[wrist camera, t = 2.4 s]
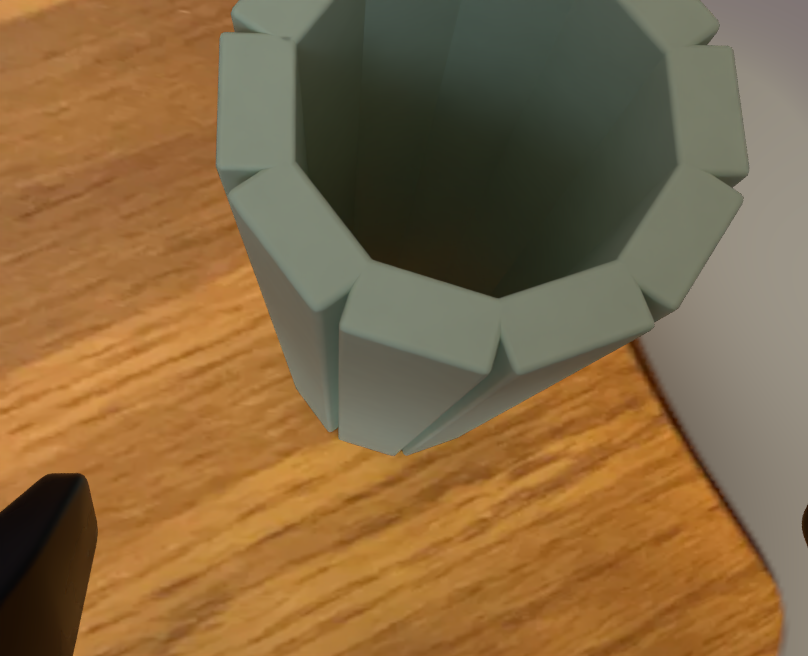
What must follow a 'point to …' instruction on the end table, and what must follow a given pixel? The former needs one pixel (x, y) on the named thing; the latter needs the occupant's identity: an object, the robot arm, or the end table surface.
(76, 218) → the end table surface
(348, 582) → the end table surface
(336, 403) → the sleeve
